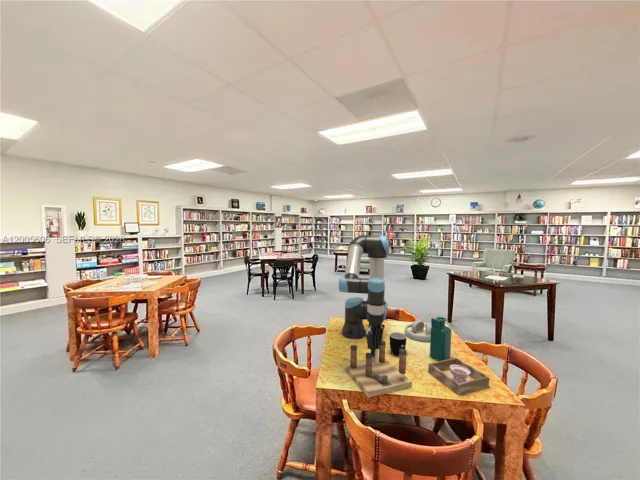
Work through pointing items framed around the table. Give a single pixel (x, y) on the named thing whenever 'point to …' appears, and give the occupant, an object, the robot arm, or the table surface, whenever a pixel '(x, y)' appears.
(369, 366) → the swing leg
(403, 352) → the loose leg
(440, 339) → the green bottle
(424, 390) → the table surface
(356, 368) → the stool top
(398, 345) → the mug
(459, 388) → the cup coaster tray
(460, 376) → the teacup
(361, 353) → the table surface
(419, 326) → the headphones
